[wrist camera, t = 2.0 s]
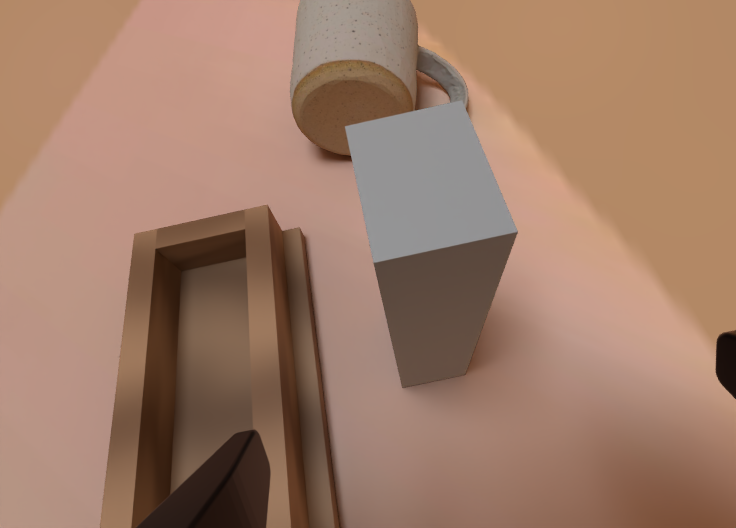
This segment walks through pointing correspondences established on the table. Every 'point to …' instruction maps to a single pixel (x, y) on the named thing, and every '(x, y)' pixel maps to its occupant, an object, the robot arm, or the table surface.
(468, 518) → the table surface
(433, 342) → the tall grey pillar block
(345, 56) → the ceramic mug
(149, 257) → the open rectangular wooden box
